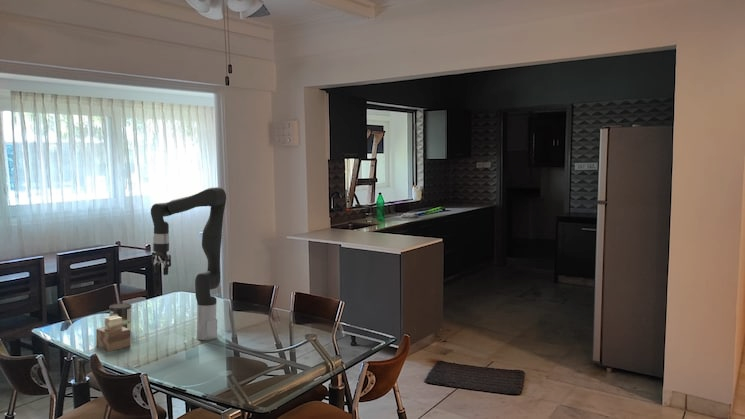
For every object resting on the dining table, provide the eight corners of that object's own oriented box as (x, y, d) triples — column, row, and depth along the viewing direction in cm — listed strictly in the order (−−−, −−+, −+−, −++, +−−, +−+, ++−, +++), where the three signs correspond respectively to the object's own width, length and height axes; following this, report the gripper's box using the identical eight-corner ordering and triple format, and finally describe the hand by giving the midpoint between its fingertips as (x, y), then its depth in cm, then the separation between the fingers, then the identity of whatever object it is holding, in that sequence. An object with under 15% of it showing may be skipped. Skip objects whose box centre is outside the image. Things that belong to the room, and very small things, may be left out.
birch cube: (122, 329, 254) (122, 317, 254) (110, 331, 250) (110, 319, 249) (116, 326, 258) (116, 315, 257) (104, 329, 253) (104, 317, 253)
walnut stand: (130, 346, 254) (130, 329, 254) (108, 351, 247) (108, 334, 246) (117, 340, 262) (117, 324, 261) (96, 345, 254) (96, 328, 253)
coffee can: (118, 337, 267) (118, 309, 266) (104, 333, 272) (104, 306, 271) (136, 332, 276) (136, 304, 275) (122, 328, 281) (122, 302, 280)
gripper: (175, 243, 274) (175, 274, 275) (160, 240, 283) (160, 270, 284) (162, 244, 268) (161, 276, 269) (146, 241, 277) (146, 272, 278)
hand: (161, 273), depth 276 cm, fingers open, 8 cm apart
